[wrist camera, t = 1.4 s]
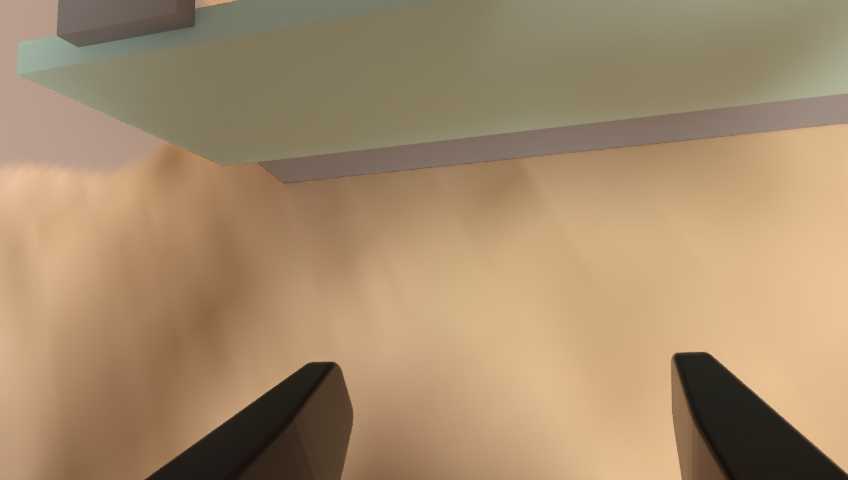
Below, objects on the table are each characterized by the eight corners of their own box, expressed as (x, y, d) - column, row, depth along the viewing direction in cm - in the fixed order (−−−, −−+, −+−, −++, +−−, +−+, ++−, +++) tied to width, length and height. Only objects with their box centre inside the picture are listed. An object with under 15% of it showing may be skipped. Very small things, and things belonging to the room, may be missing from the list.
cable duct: (885, 119, 21) (942, 48, 17) (282, 183, 27) (230, 140, 23) (838, -73, 24) (880, -169, 20) (296, 22, 29) (252, -40, 26)
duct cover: (947, 10, 17) (959, 80, 17) (224, 112, 23) (223, 166, 23) (1293, -307, 9) (1330, -178, 8) (-1, -20, 14) (-7, 64, 14)
